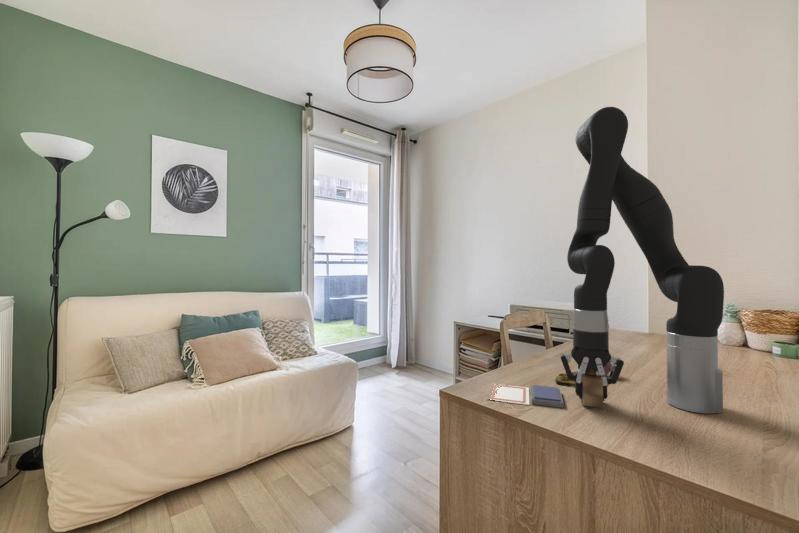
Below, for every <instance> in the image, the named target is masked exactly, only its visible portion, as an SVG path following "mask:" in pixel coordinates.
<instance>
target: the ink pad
mask: <svg viewBox="0 0 799 533" xmlns="http://www.w3.org/2000/svg"><path fill="white" fill-rule="evenodd" d="M530 394H531V395H530V397H531V405H537V406H544V407H545V406H546V407H553V408H561V409H564V408H565V406H564V400H563V397H562V392H561V389H560V388H558V387H557V386H556V387H555V386H548V385H547V386H546V385H537V384H533V385H530Z"/></svg>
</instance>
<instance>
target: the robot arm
mask: <svg viewBox="0 0 799 533" xmlns="http://www.w3.org/2000/svg"><path fill="white" fill-rule="evenodd" d="M628 130H629V120H628V117H627V114H626V113H625V112H624V111H623V110H622V109H620V108H618V107H616V106H606V107H605V106H604V107H603V108H600V109H599V110H597V111H595V112H594V113H592V115H590V116H589V117H588V118H587V119H586V120H585V122H584V123H583V124H581V125H580V126H579V127H578V129H577V131H576V133H575V139H574V140H575V145H576V147H577V150H578V151H579V153H580V154H581V155H582V157H583V158H584V160H585V161H586V162H587V164H588V165H589V168H588V173H587V175H586V178H585V181H584V184H583V187H582V190H581V195H580V197H579V200H578V207H577V208H578V210H577V220H576V229H575V231H574V233H573V236H572V239H571V242H570V245H569V247H568V252H567V258H566V259H567V264H568V267H569V269H570V270H571V271H572V272H573V273H575V274H577V275H585V276H584V281H583V283H581V284H579V285H577V286H575V288H574V291H573V315H572V345H573V346H572V349H571V351H570V352H569V353H565V354H564V353H561V354H560V355H559V358H560V360H561V363H562V366H563V368H564V371H565V374H567V376H568V379H569V380H573V381H575V387H574V388H575V389H574V390H575V395H576V396H578V399H580V400H581V399H582V376H583V375H584V374H585V370H593V371H597V373H598V375H599V376H600V377H601V378H602V379H603V402H605V400H607V398H608V386H609V385H616V384H617V381H618V380H619V377H620V374H621V372H622V369H623V368H624V364H625V362H624V360H622V359H621V357H614V356H612V355H611V353H610V351H609V350H610V348H609V345H610V341H609V340H610V339H609V336H610V334H609V329H610V324H609V315H608V291H609V288H610V285H611V280H612V277H613V274H614V271H615V264H616V262H615V257H614V254H613V251H612V250H611V249H610V248H609V247H608V246H605V245H604V244H597V243H598V240H599V239H601V237H603V236H605V235H607V234H608V233H609V231H610V226H611V216H612V205H613V204H614V205H615V208H616V210H617V211H618V214H619V215H620V216H621V218H622V220H623V221H624V223H625V225H626V226H627V229H628V230H629V232H630V233H631V234H632V237H634V240H635V242H636V243H637V245H638V247H639V248H640V250H641V251H642V253H643V255H644V257H645V258H646V260H647V263H648V265H649V267H650V270H651V272H652V275H653V277H654V280H655V282H656V284H657V285H658V288H659V290H660V292H661V293H662V294H663V295H664V297H666V298H667V299H668V300H671V301H672V302H675V303H676V304H677V305H676V313H675V315H674V316H673V317H671V318H668V319H667V321H666V331H665V333H666V336H665V337H666V401H667V403H668V405H671V406H672V407H675V408H678V409H679V410H682V411H683V410H684V411H688V412H693V413H697V414H706V415H707V414H709V415H710V414H712V415H713V414H724V391H723V390H724V385H723V383H724V382H723V381H724V379H723V378H724V377H723V373H724V372H723V371H722V369H720V368H719V350H718V348H719V347H718V346H719V345H718V344H719V343H718V342H719V341H718V340H719V339H718V337H719V336H718V335H719V333H718V332H719V328H720V327H721V325H722V323H723V318H724V303H725V302H724V301H725V300H724V299H725V298H724V297H725V286H724V282H723V281H724V280H723V278H722V276H721V275H720V274H719V272H718V271H717V270H716V269H714V268H712V267H710V266H706V265H692V264H691V265H689V263H688V262H687V260H686V259H685V258H684V256H683V254H682V253H681V251H680V250H679V248H678V246H677V244H676V241H675V234H674V220H673V219H674V218H673V213H672V209H671V208H670V206H669V204H668V202H667V200H666V198H665V197H664V195H663V194H662V191H661V190H660V189H659V188H658V187H657V185H656V184H655V183H654V182H653V181H651V180H650V179H648V178H647V177H646V176H644V175H643V174H641V173H640V172H638V171H637V170H635V169H634V168H633V167H631V166H630V165H629V164H628V163H627V161H626V160H625V158H624V157H623V155H622V153H623V152H622V151H623V148H624V146H625V142H626V138H627V134H628ZM612 203H613V204H612ZM572 359H574V362H575V363H576V364H577V367H576V371H575V372H576V375H574V374H572V372H573V371H572V370H571V368H570V367H571V366H570V363H571V360H572ZM609 361H611V365H612V366H613V367H612V369H611V371H610V372H609V373H608V376H607V375H605V372H604V369H603V368H604V367H605V365H606V364H607V363H608V362H609ZM606 376H607V377H606Z"/></svg>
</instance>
